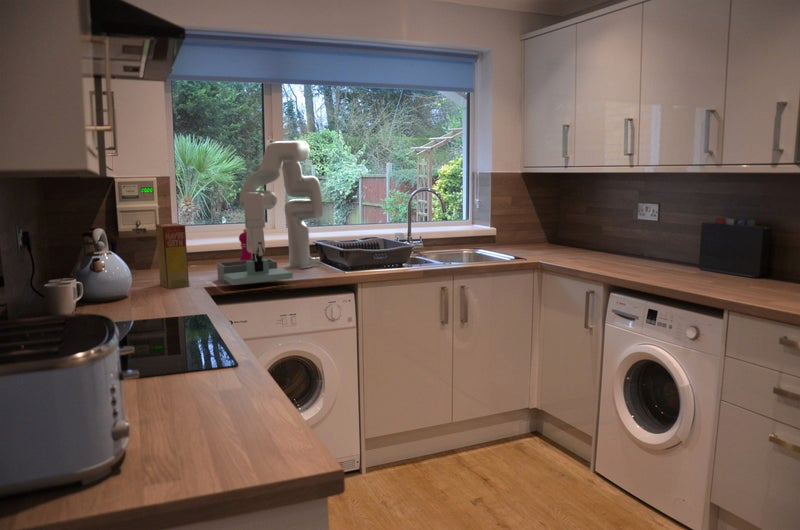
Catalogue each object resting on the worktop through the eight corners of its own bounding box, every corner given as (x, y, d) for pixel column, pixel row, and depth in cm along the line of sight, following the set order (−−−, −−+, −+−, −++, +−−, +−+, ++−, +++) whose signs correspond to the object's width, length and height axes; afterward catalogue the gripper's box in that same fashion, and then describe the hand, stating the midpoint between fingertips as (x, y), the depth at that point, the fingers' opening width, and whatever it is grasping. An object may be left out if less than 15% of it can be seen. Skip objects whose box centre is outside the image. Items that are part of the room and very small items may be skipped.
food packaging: (190, 286, 260) (185, 225, 256) (166, 289, 255) (161, 226, 251) (182, 281, 271) (177, 222, 267) (159, 284, 266) (153, 224, 262)
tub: (269, 276, 278) (268, 258, 277) (277, 280, 268) (276, 261, 267) (218, 281, 268) (216, 263, 267) (224, 286, 258) (223, 267, 257)
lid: (282, 273, 264) (281, 255, 263) (292, 278, 252) (291, 260, 251) (224, 279, 253) (222, 261, 252) (232, 285, 241) (231, 265, 240)
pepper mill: (250, 271, 292) (248, 227, 289) (259, 273, 287) (256, 228, 284) (236, 273, 287) (233, 229, 284) (245, 275, 282) (242, 230, 279)
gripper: (240, 223, 255) (243, 268, 258) (251, 226, 240) (254, 274, 243) (258, 221, 258) (261, 266, 261) (270, 225, 244) (273, 272, 247)
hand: (257, 270), depth 252 cm, fingers closed on lid, 3 cm apart
